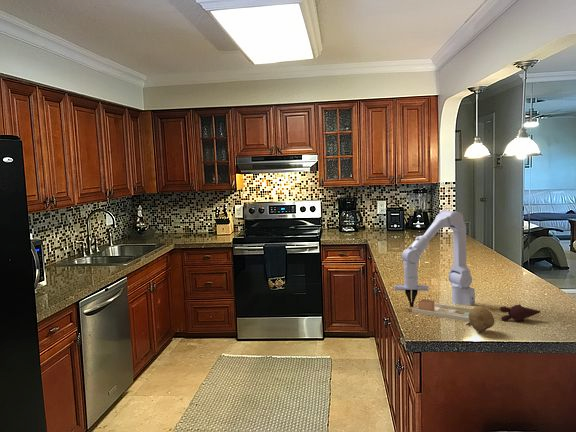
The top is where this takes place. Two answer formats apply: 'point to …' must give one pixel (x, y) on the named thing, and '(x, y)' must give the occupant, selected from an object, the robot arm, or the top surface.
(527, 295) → the top surface
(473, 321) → the natural sponge
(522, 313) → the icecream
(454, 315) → the lane
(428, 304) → the block
